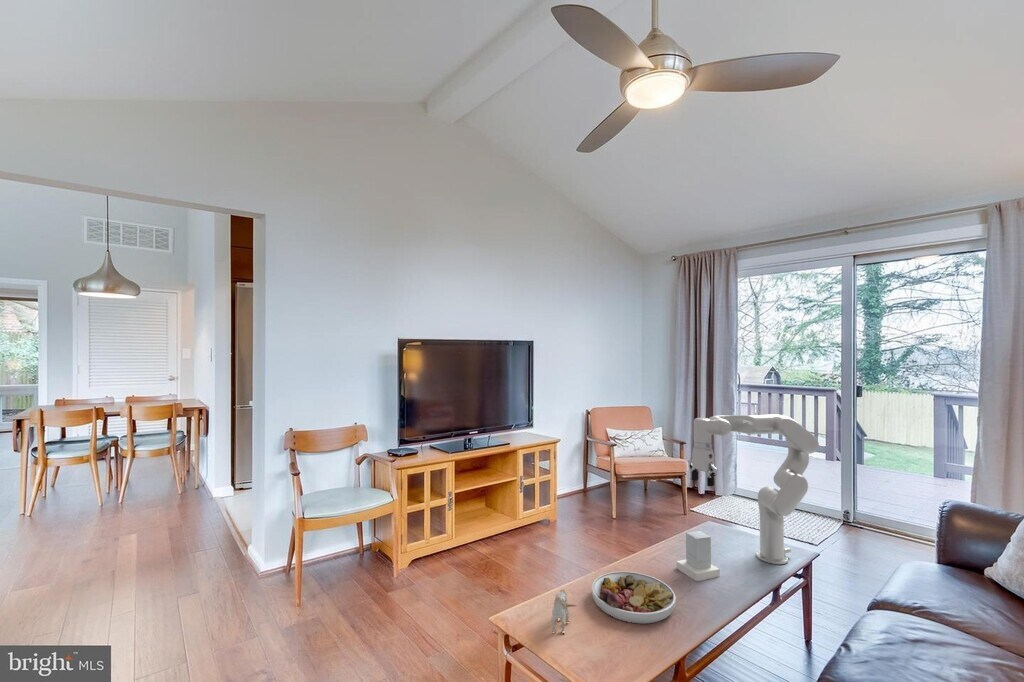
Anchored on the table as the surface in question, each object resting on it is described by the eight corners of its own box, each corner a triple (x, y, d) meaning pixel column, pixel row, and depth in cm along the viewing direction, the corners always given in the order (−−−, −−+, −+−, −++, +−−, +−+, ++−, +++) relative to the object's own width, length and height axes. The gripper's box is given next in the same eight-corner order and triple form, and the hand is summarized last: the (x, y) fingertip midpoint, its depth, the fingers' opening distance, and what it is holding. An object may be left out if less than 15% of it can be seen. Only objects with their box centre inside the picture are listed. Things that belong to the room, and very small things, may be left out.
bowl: (619, 576, 193) (619, 557, 193) (689, 604, 171) (689, 583, 172) (575, 603, 172) (575, 582, 172) (649, 640, 150) (649, 615, 150)
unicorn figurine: (554, 648, 145) (554, 605, 146) (547, 613, 165) (547, 575, 165) (576, 648, 146) (576, 605, 146) (567, 613, 165) (567, 575, 165)
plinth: (698, 563, 203) (698, 556, 203) (719, 576, 192) (719, 569, 192) (676, 568, 199) (676, 561, 199) (696, 581, 188) (696, 573, 188)
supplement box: (711, 567, 194) (711, 537, 194) (696, 569, 192) (696, 538, 192) (700, 559, 201) (700, 530, 201) (685, 561, 199) (685, 531, 199)
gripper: (723, 448, 205) (723, 487, 204) (695, 441, 221) (695, 477, 220) (710, 449, 202) (710, 489, 202) (682, 442, 218) (682, 478, 218)
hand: (702, 483), depth 211 cm, fingers open, 9 cm apart
